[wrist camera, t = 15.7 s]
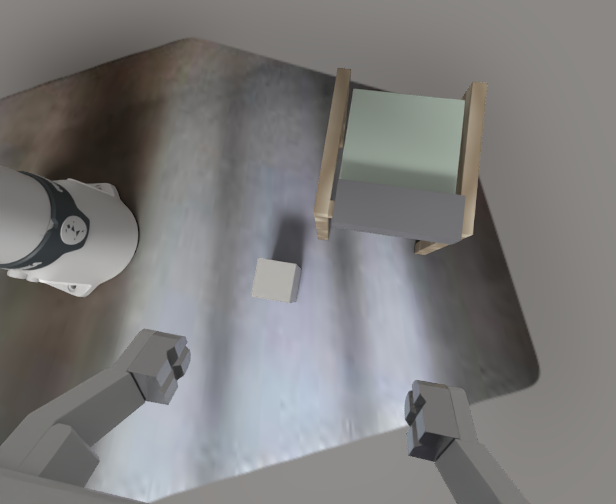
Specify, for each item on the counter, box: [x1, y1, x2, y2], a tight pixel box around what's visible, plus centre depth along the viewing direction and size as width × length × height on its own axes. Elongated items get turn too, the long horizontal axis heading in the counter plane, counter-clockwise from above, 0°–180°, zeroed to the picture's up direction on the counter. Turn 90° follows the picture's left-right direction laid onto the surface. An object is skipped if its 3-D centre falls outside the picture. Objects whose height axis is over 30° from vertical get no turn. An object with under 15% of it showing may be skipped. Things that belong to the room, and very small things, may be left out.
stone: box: [251, 258, 302, 303], centre depth 43 cm, size 5×5×8 cm
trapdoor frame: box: [314, 68, 487, 255], centre depth 40 cm, size 16×17×16 cm
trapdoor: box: [331, 89, 466, 245], centre depth 31 cm, size 12×16×4 cm
